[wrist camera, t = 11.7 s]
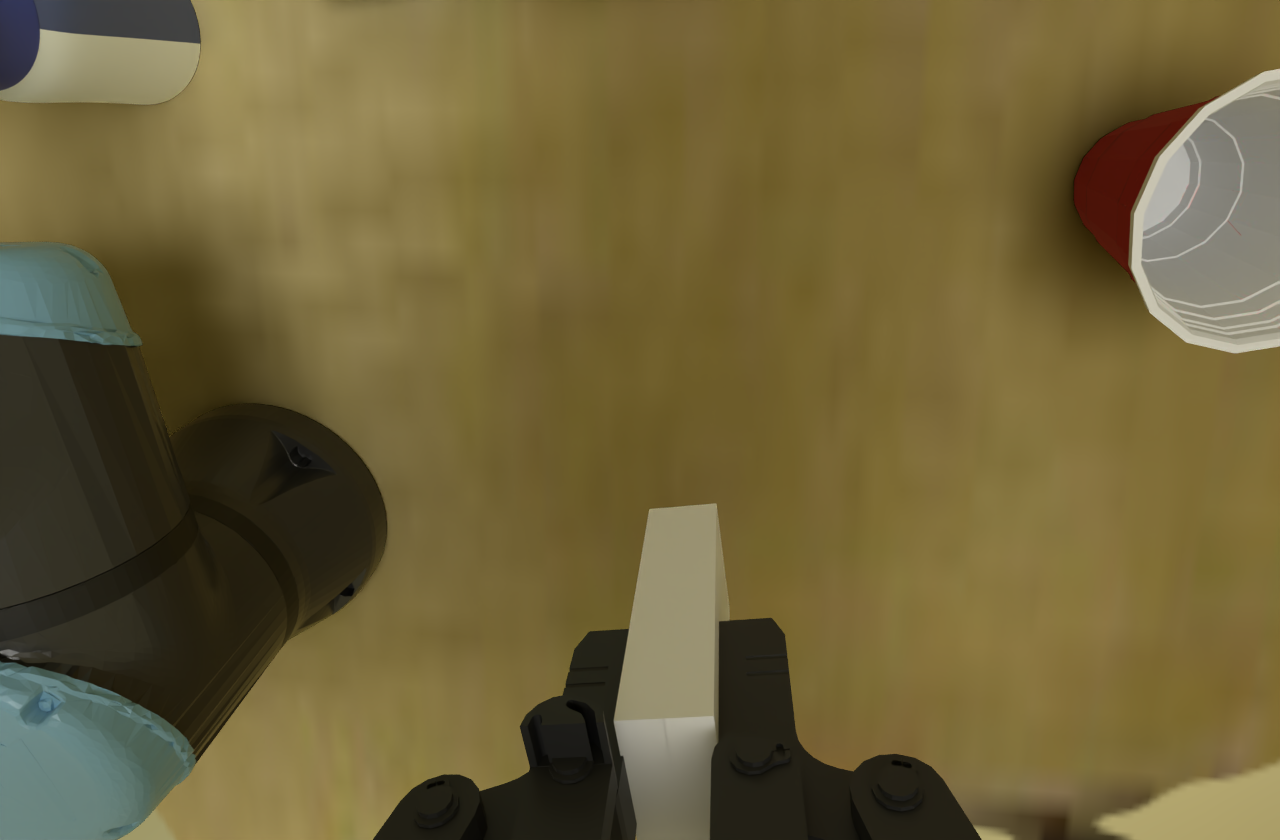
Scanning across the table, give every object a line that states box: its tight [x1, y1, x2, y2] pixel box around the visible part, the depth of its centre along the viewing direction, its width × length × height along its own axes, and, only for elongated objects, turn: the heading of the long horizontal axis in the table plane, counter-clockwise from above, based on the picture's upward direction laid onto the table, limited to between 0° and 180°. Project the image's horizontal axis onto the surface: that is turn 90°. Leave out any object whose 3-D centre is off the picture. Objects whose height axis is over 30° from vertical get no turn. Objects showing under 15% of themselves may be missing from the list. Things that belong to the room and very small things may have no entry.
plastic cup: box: [1074, 69, 1280, 353], centre depth 36 cm, size 11×11×12 cm
